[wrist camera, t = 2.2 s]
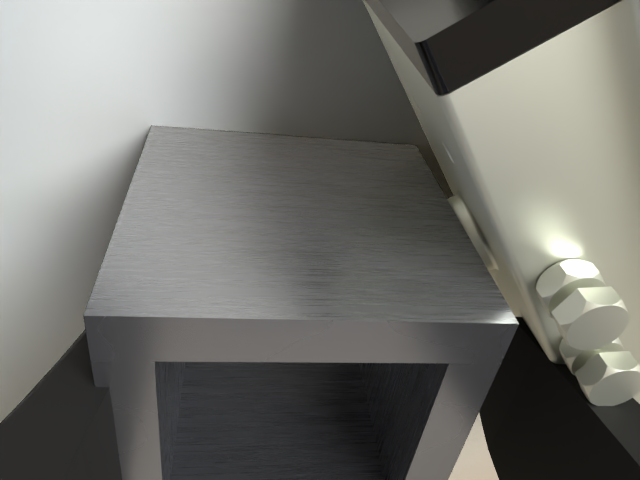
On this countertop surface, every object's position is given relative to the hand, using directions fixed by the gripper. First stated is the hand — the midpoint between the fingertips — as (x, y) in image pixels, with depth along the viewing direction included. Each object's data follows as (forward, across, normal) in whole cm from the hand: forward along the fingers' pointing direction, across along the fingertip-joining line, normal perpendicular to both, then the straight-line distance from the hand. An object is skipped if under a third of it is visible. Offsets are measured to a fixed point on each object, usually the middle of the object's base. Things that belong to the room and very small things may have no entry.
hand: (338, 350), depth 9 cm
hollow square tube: (+3, +1, 0) cm, 3 cm away
